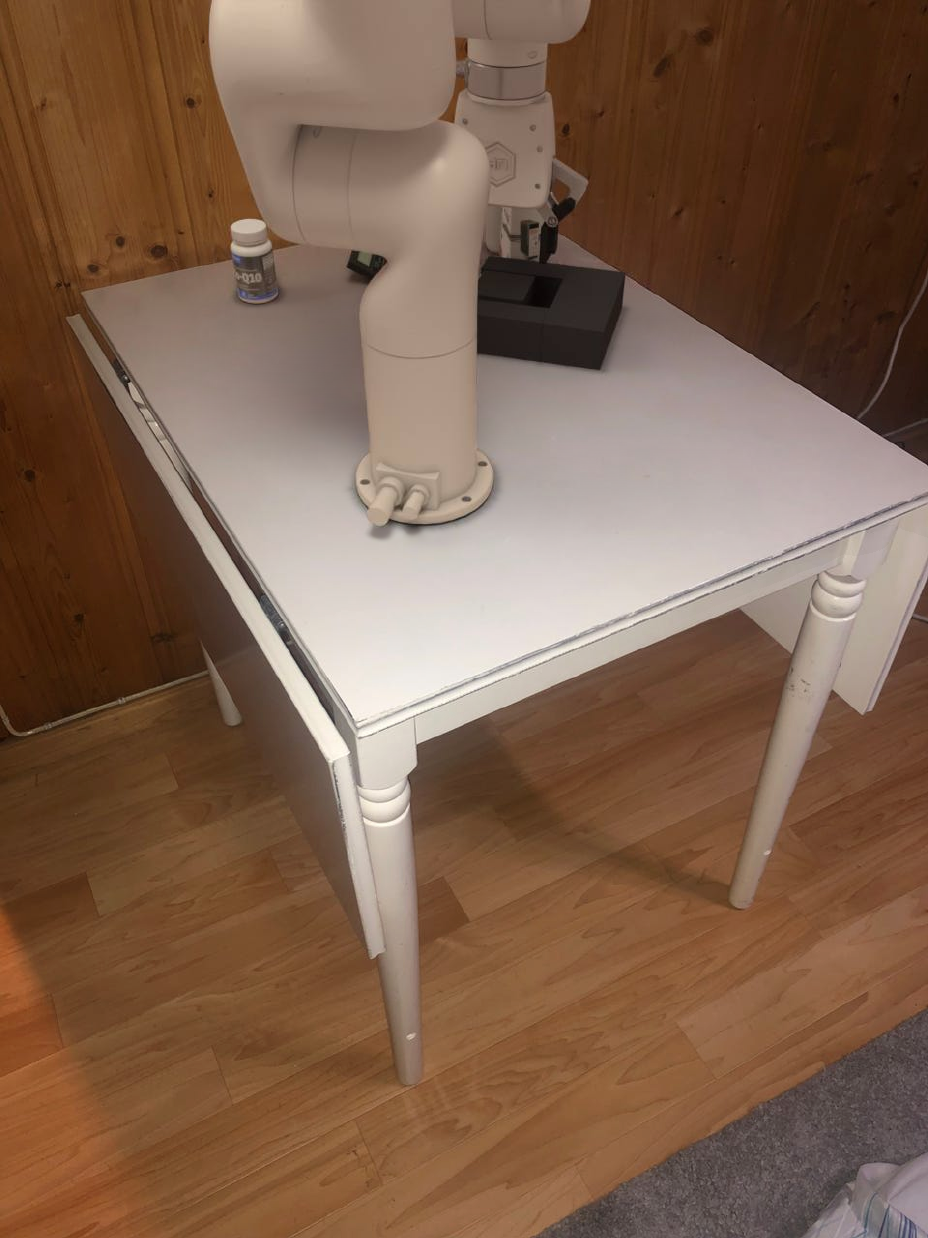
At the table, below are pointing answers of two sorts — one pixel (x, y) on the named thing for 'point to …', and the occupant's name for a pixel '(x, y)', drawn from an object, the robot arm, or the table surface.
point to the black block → (506, 287)
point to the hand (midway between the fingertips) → (501, 253)
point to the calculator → (365, 263)
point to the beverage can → (493, 228)
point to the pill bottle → (253, 261)
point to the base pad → (553, 314)
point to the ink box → (520, 233)
